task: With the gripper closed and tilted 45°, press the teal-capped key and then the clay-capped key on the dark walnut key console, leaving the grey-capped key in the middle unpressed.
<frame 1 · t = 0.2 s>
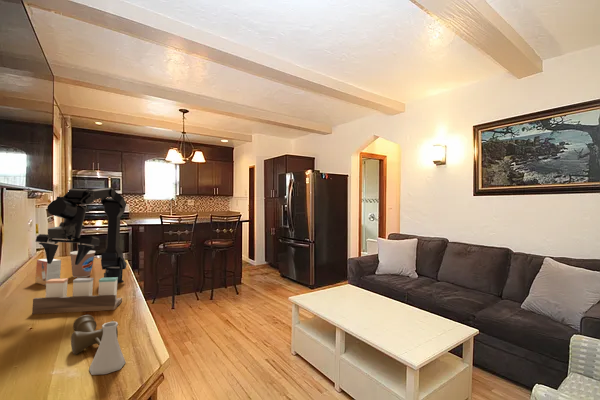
hand: (62, 264, 102), 15 cm above the table, tool pointing down, fingers open, 9 cm apart
teal key: (107, 289, 106), point 6 cm above the table, slide at 0.0 cm
kendama: (90, 344, 78), on the table
key console: (81, 306, 104), on the table
grey key: (82, 290, 104), point 6 cm above the table, slide at 0.0 cm
coffee cup: (81, 276, 144), on the table
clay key: (56, 291, 102), point 6 cm above the table, slide at 0.0 cm
flask: (107, 367, 67), on the table
small box: (47, 283, 130), on the table
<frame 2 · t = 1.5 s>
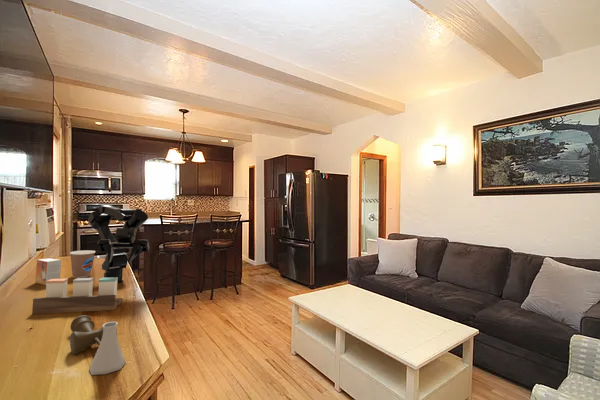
hand: (119, 262, 117), 14 cm above the table, tool tilted 45°, fingers open, 7 cm apart
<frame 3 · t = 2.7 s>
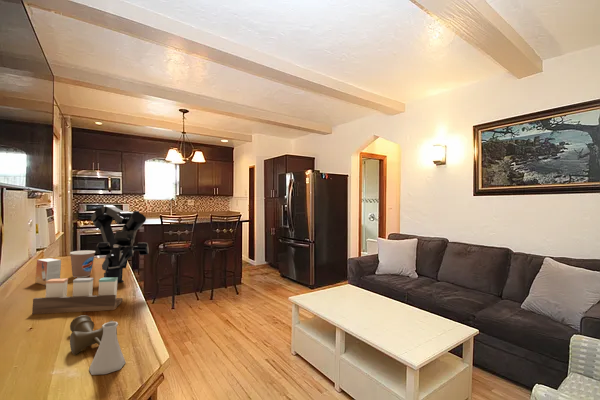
hand: (118, 265, 116), 12 cm above the table, tool tilted 45°, fingers closed
nothing on the table moved.
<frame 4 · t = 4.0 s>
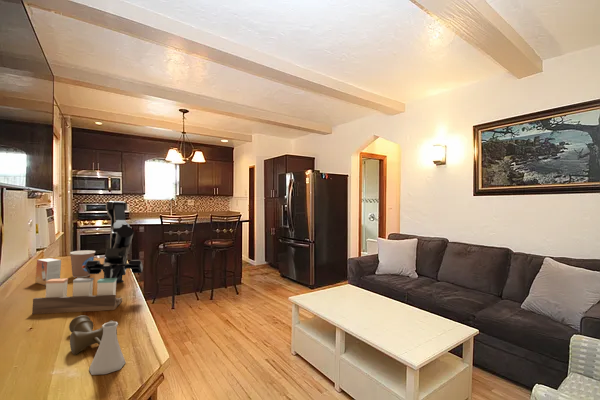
hand: (108, 286, 107), 7 cm above the table, tool tilted 45°, fingers closed, pressing on teal key
teal key: (106, 290, 105), point 6 cm above the table, slide at 1.3 cm, touching gripper
everything else where it was.
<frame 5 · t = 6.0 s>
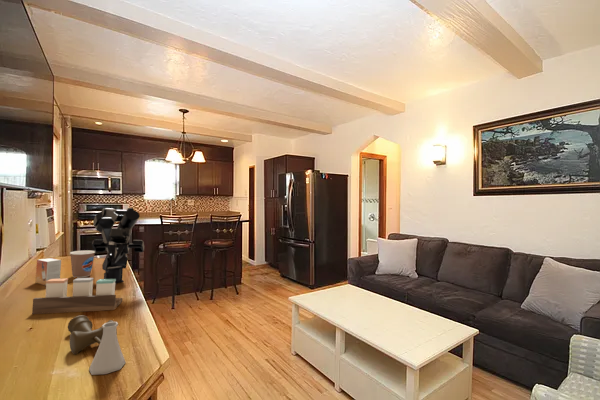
hand: (113, 262, 117), 13 cm above the table, tool tilted 45°, fingers closed
teal key: (105, 291, 104), point 6 cm above the table, slide at 2.3 cm
everything else where it was.
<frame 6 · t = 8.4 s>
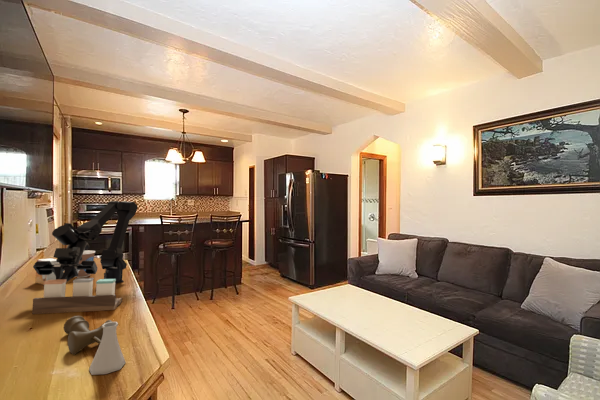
hand: (57, 287, 102), 7 cm above the table, tool tilted 45°, fingers closed, pressing on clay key
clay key: (54, 292, 101), point 6 cm above the table, slide at 1.2 cm, touching gripper
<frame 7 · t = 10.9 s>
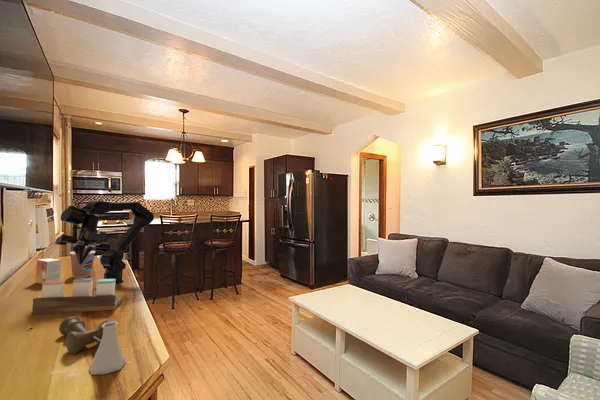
hand: (80, 263, 118), 12 cm above the table, tool tilted 25°, fingers closed
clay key: (53, 293, 100), point 6 cm above the table, slide at 2.3 cm
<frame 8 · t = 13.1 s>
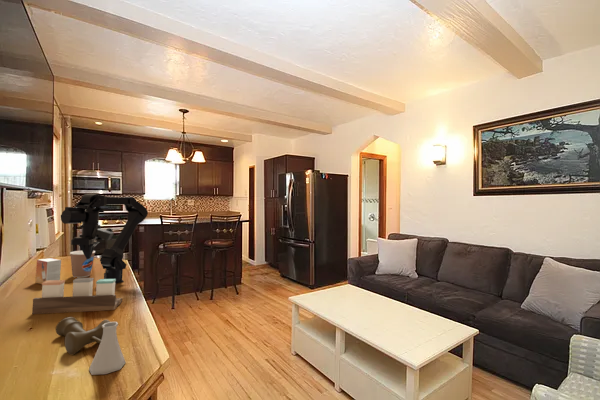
hand: (88, 258, 124), 13 cm above the table, tool pointing down, fingers closed
at the end: teal key slide at 2.3 cm; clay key slide at 2.3 cm; grey key slide at 0.0 cm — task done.
